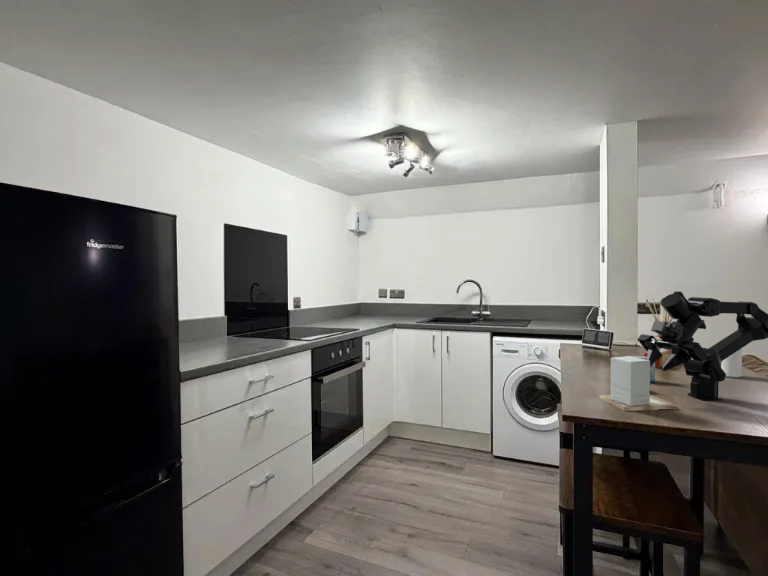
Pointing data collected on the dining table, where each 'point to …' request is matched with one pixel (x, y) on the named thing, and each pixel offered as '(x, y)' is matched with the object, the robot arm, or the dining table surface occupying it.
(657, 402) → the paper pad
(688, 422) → the dining table surface
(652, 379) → the medicine box
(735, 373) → the can
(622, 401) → the supplement box
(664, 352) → the snack package
